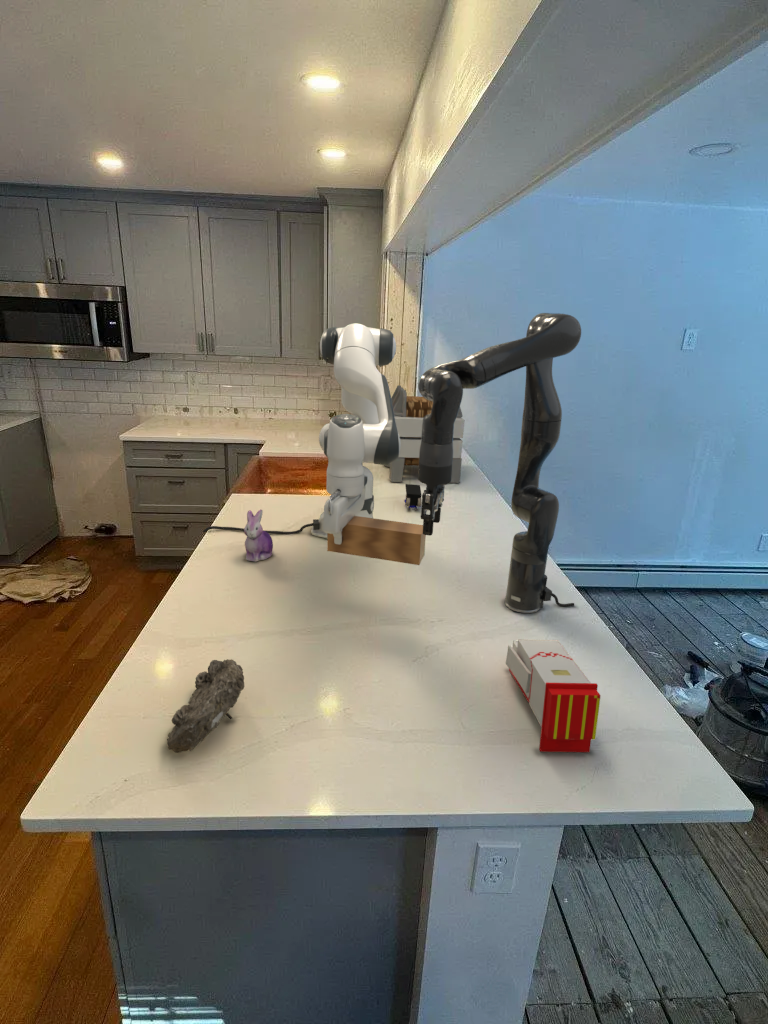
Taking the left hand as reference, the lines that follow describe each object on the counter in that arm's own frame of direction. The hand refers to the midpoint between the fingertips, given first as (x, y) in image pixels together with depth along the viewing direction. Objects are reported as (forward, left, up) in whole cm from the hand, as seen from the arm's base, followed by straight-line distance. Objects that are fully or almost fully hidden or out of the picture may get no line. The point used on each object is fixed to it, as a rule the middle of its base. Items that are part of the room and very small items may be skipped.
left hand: (343, 537), depth 140 cm
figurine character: (-2, +88, -21) cm, 91 cm away
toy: (+51, -21, -21) cm, 59 cm away
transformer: (-10, +138, -21) cm, 140 cm away
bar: (+8, 0, -3) cm, 9 cm away
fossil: (-10, -46, -21) cm, 51 cm away
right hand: (+22, 0, +6) cm, 22 cm away
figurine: (-36, +23, -21) cm, 48 cm away
